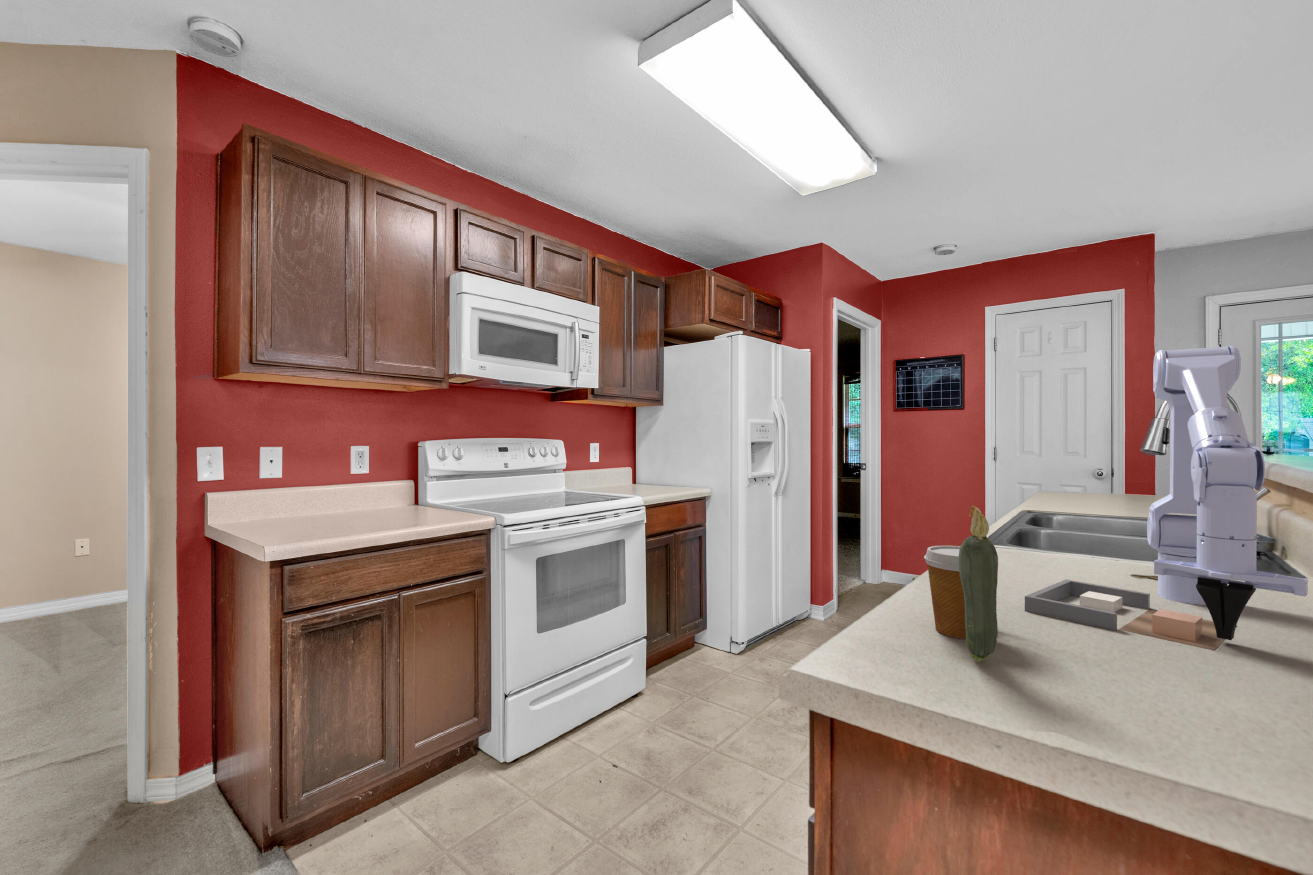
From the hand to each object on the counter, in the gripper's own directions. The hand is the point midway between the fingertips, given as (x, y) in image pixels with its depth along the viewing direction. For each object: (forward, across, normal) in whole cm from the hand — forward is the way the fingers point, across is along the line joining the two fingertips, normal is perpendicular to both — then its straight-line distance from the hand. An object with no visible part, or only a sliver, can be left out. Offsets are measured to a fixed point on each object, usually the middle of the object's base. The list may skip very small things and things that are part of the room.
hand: (1225, 637), depth 77 cm
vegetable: (+2, -18, -30) cm, 36 cm away
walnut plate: (+2, -5, +4) cm, 7 cm away
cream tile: (+2, -16, +7) cm, 17 cm away
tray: (+2, -16, +4) cm, 16 cm away
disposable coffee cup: (+2, -25, -20) cm, 33 cm away
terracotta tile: (+1, -5, 0) cm, 5 cm away
